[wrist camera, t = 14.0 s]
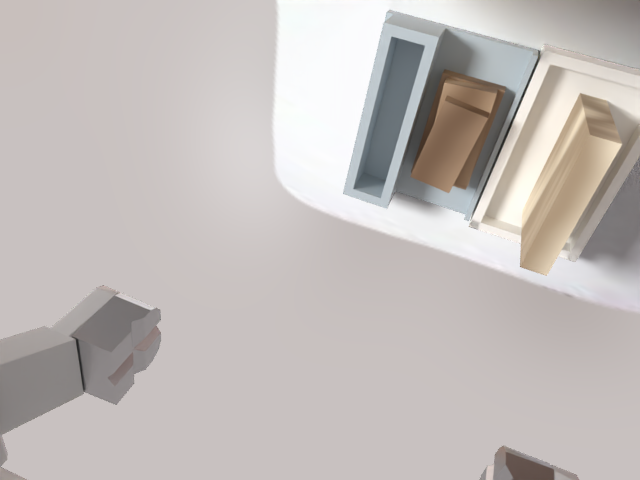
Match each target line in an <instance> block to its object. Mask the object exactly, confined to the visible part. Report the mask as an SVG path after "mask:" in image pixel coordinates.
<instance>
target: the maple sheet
mask: <svg viewBox="0 0 640 480" xmlns="http://www.w3.org/2000/svg"><path fill="white" fill-rule="evenodd" d="M621 146H622V142H621V139H620V137H619V134H618V131H617V128H616V125H615V123H614V120H613V117H612V114H611V111H610V109H609V106H608V103H607V100H603V99H600V98H596V97H593V96H589V95H585V94H582V93H580V94H579V96H578V98H577V100H576V102H575V104H574V106H573V108H572V110H571V112H570V114H569V116H568V118H567V120H566V122H565V125H564V127H563V129H562V131H561V133H560V135H559V137H558V139H557V141H556V143H555V145H554V147H553V149H552V151H551V153H550V155H549V157H548V159H547V161H546V163H545V165H544V167H543V169H542V171H541V173H540V176H539V178H538V180H537V182H536V184H535V186H534V188H533V190H532V192H531V194H530V196H529V198H528V200H527V202H526V204H525V206H524V208H523V210H522V232H521V258H520V267H522V268H525V269H528V270H531V271H534V272H537V273H540V274H542V275H545V276H547V274H548V273H549V271H550V269H551V267H552V266H553V264H554V262H555V260H556V259H557V257H558V255H559V254H560V252H561V250H562V248H563V247H564V245H565V243H566V241H567V240H568V238H569V236H570V234H571V233H572V231H573V229H574V227H575V226H576V224H577V222H578V220H579V219H580V217H581V215H582V214H583V212H584V210H585V208H586V207H587V205H588V203H589V201H590V200H591V198H592V196H593V194H594V193H595V191H596V189H597V187H598V186H599V184H600V182H601V181H602V179H603V177H604V175H605V174H606V172H607V170H608V168H609V167H610V165H611V163H612V161H613V160H614V158H615V156H616V154H617V153H618V151H619V149H620V147H621Z"/></svg>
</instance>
